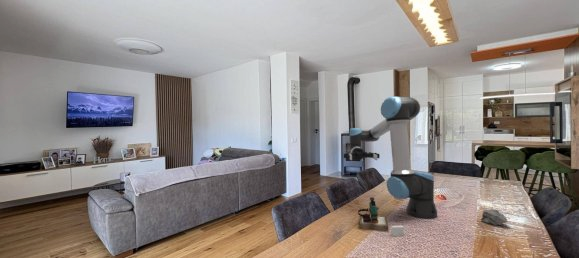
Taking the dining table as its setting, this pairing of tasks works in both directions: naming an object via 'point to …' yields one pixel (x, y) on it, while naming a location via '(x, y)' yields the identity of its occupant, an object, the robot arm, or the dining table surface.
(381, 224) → the plinth
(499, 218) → the mineral specimen
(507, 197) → the dining table surface
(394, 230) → the price sign
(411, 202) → the robot arm
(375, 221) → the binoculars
